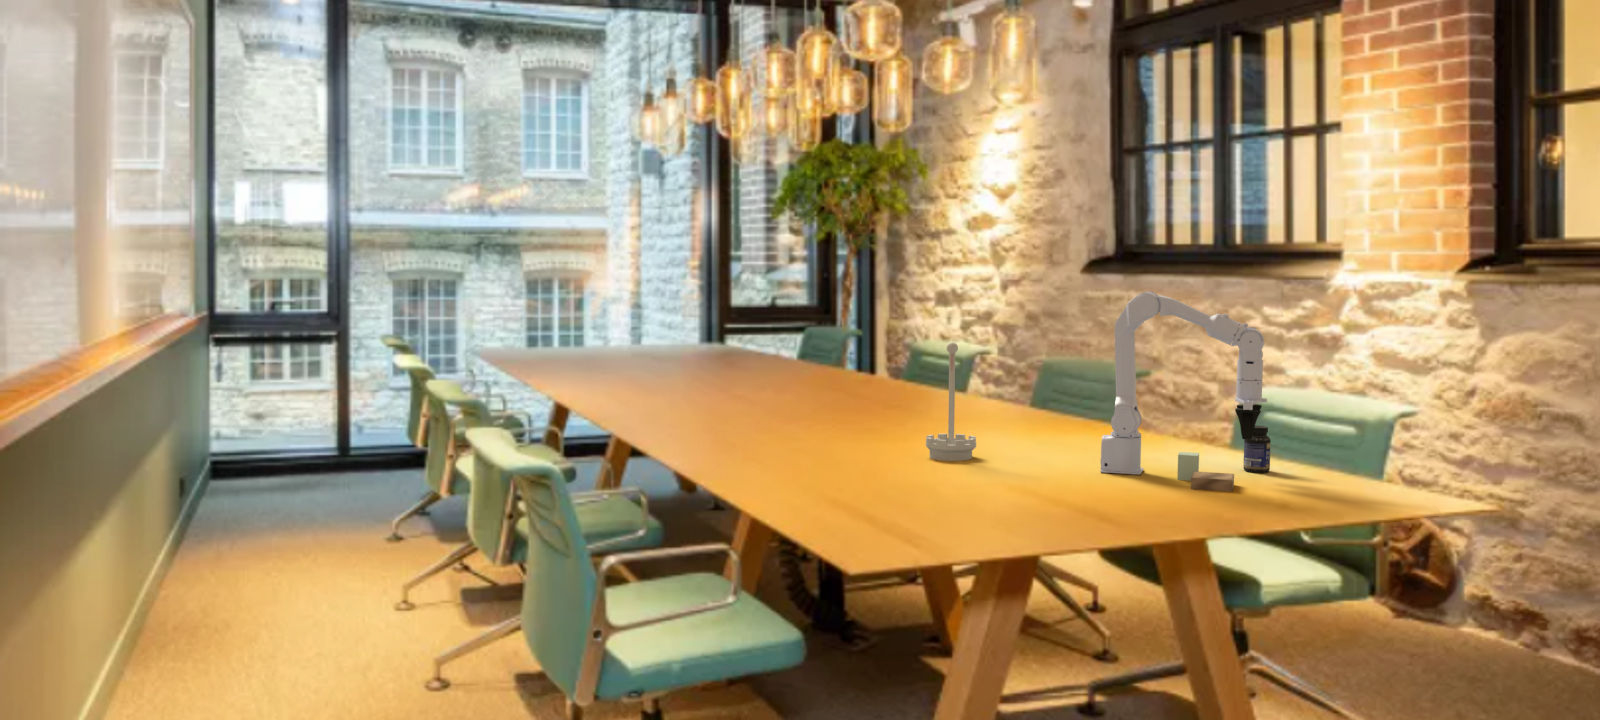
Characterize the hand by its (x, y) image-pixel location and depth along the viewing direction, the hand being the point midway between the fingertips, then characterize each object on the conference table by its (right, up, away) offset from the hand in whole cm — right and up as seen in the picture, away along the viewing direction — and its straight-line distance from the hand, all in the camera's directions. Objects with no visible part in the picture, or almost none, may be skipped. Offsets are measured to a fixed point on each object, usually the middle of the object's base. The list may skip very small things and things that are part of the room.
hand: (1247, 436), depth 307 cm
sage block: (-14, -10, +2) cm, 17 cm away
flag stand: (-66, -7, +32) cm, 74 cm away
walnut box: (-11, -11, -9) cm, 18 cm away
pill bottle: (+6, -9, +12) cm, 17 cm away
